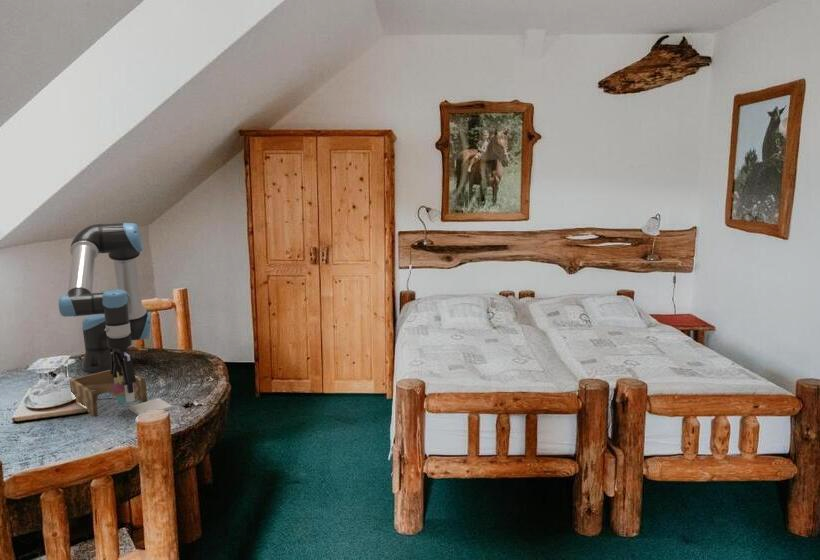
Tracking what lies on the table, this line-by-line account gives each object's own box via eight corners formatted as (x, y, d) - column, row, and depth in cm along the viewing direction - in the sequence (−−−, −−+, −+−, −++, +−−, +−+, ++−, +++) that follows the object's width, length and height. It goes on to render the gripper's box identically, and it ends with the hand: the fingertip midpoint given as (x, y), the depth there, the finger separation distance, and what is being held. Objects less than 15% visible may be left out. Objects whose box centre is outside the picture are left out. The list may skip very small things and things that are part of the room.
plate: (128, 409, 216) (128, 406, 216) (159, 400, 224) (158, 398, 224) (142, 418, 209) (141, 415, 209) (172, 408, 217) (172, 405, 216)
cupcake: (121, 408, 207) (118, 374, 205) (106, 403, 211) (103, 370, 209) (143, 399, 214) (140, 367, 212) (129, 395, 219) (126, 363, 216)
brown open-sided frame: (71, 399, 225) (69, 376, 223) (122, 386, 238) (120, 364, 237) (94, 416, 210) (91, 391, 208) (147, 401, 223) (145, 377, 221)
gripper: (95, 332, 213) (102, 393, 217) (119, 343, 198) (126, 409, 203) (117, 327, 218) (123, 387, 222) (142, 339, 204) (148, 402, 208)
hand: (125, 397), depth 213 cm, fingers closed on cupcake, 8 cm apart
